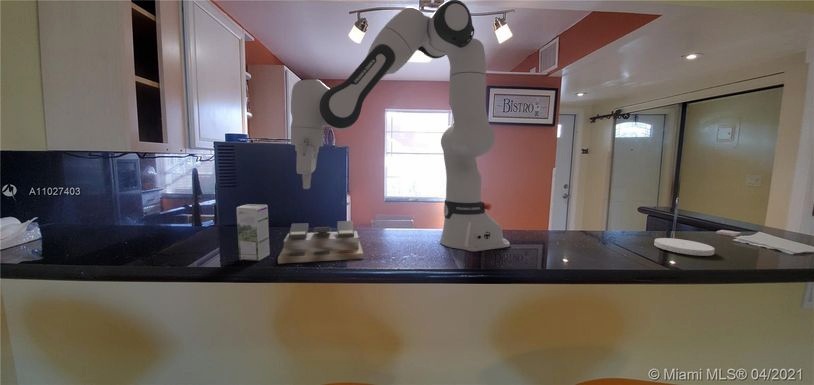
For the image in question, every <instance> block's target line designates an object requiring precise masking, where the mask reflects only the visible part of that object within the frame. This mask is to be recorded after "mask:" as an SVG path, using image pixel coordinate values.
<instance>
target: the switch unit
mask: <svg viewBox="0 0 814 385" xmlns="http://www.w3.org/2000/svg"><path fill="white" fill-rule="evenodd" d="M361 244H362V243H361V241H360V240H359V235H358V231H357V230H354V237H338V231H328V232H307V238H295V239H289V233H287V235H286V236H285V238H284V240H283V248H282V250H281V251H280V254H279V256H277V264H293V263H295V264H297V263H309V262H325V261H326V262H327V261H328V262H329V261H342V260H343V261H345V260H346V261H347V260H358V259H359V260H360V259H364V251H363V248H362V245H361Z"/></svg>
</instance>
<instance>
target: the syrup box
mask: <svg viewBox="0 0 814 385" xmlns="http://www.w3.org/2000/svg"><path fill="white" fill-rule="evenodd" d="M268 208H269V207H268V204H256V203H255V204H254V203H253V204H252V203H251V204H250V203H249V204H247V203H246V204H243V205H240V206H237V207H236V226H237V241H238V242H237V243H238V258H239V261H255V262H258V261H261V260H263V259H265V258H267V257H268V256H270V254H271V253H270V252H271V251H270V237H269V235H270V232H269V209H268Z"/></svg>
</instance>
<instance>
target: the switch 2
mask: <svg viewBox="0 0 814 385" xmlns="http://www.w3.org/2000/svg"><path fill="white" fill-rule="evenodd" d="M336 227H337V232H338V237H354V231H355V230H354V221H353V220H340V221H339V220H338V221H337V226H336Z"/></svg>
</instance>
